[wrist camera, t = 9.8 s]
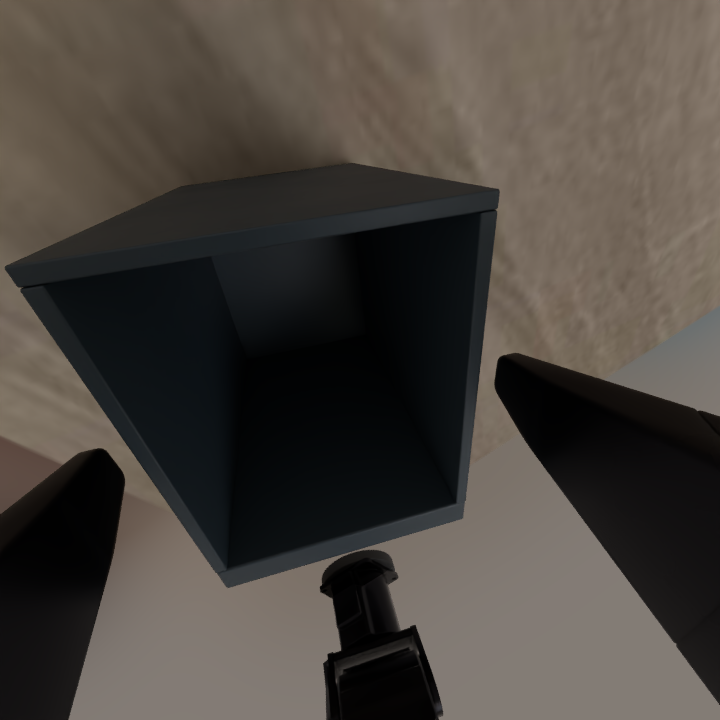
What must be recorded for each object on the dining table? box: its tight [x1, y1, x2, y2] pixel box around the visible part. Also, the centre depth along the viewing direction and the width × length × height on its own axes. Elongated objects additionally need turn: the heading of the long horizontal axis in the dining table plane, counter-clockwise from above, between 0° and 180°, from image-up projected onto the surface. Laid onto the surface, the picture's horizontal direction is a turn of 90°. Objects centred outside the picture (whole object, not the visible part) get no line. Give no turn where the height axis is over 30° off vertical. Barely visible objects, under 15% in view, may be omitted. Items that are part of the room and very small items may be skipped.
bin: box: [5, 163, 500, 588], centre depth 12 cm, size 14×7×14 cm
